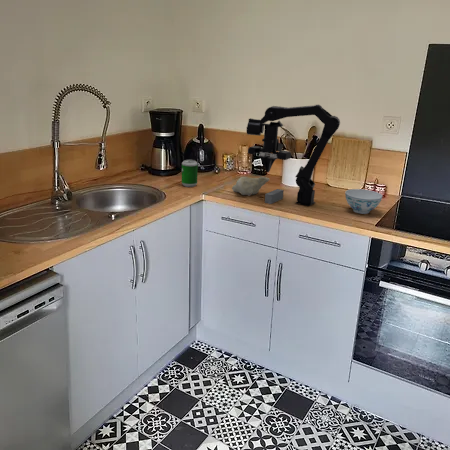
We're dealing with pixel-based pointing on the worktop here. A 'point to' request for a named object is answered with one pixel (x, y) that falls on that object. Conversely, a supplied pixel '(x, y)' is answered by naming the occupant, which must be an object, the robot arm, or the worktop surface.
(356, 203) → the chinaware
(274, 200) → the bar
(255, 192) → the grey lumpy stone
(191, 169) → the soda can
